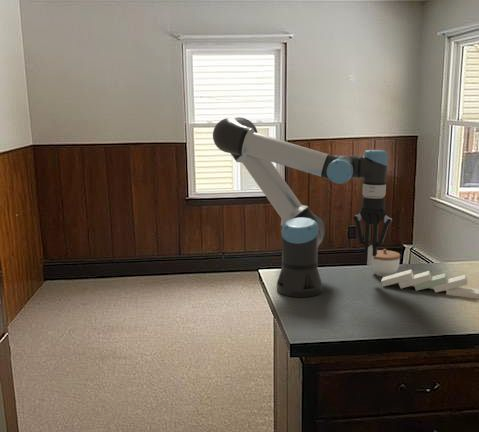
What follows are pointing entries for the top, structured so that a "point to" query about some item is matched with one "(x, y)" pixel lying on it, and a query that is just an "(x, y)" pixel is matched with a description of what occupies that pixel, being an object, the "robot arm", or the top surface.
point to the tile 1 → (397, 277)
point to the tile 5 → (464, 292)
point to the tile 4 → (452, 283)
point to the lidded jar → (385, 262)
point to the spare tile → (432, 282)
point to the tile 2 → (416, 279)
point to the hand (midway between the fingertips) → (370, 264)
